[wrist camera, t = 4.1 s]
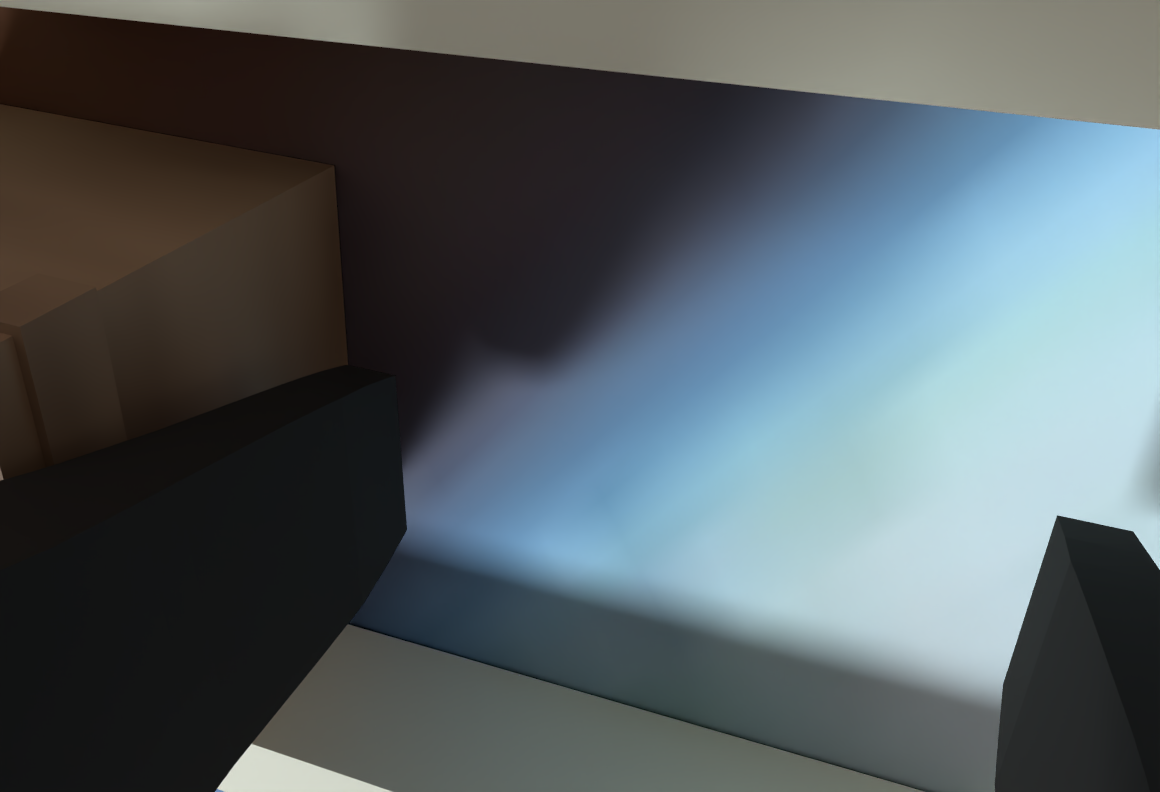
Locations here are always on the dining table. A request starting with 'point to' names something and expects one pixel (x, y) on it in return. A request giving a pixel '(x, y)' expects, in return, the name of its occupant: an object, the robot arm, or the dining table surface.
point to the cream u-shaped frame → (677, 50)
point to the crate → (152, 281)
